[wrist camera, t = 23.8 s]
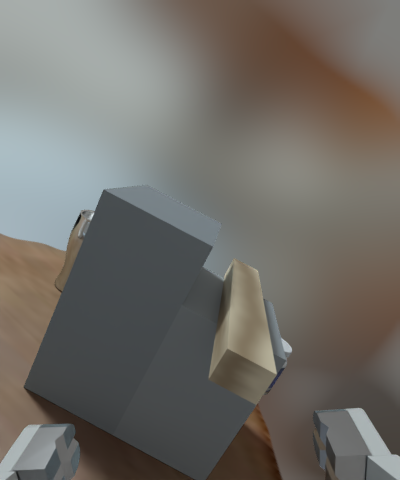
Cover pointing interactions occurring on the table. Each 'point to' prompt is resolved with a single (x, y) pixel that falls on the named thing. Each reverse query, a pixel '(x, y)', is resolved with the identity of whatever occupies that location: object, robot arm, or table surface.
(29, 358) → the table surface
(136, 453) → the table surface
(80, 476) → the table surface
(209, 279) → the stepped shelf
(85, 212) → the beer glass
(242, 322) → the wooden rod
